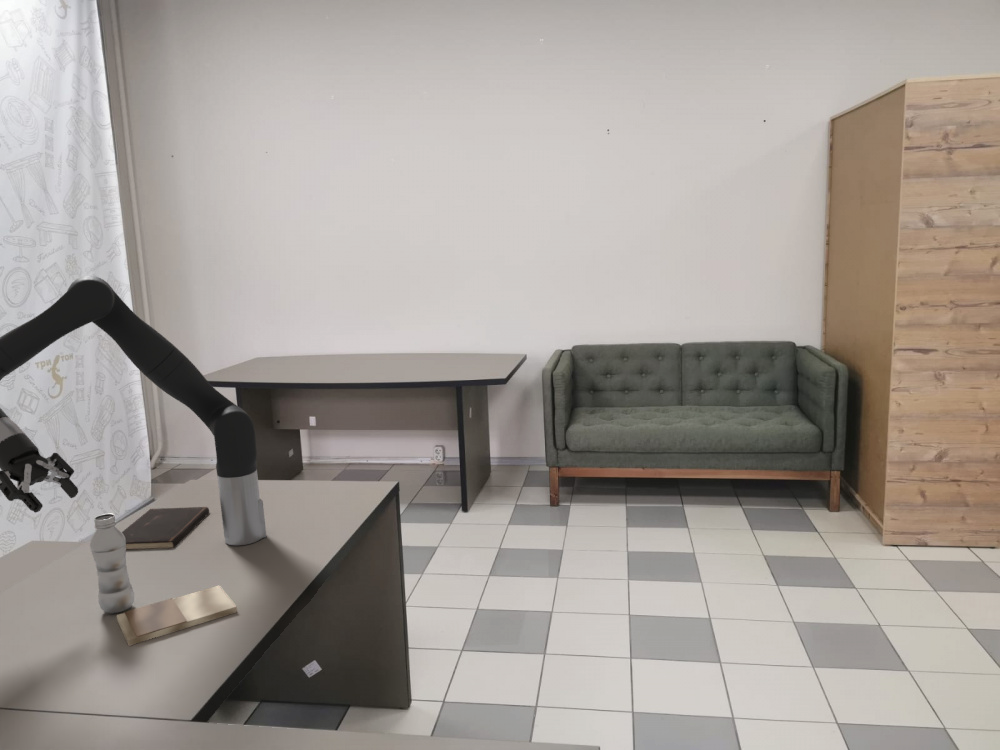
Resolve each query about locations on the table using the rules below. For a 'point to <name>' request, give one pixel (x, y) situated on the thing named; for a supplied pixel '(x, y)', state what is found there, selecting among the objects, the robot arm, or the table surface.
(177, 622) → the board
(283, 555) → the table surface
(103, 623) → the table surface
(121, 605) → the plastic bottle
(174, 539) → the hardcover book
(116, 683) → the table surface
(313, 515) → the table surface
